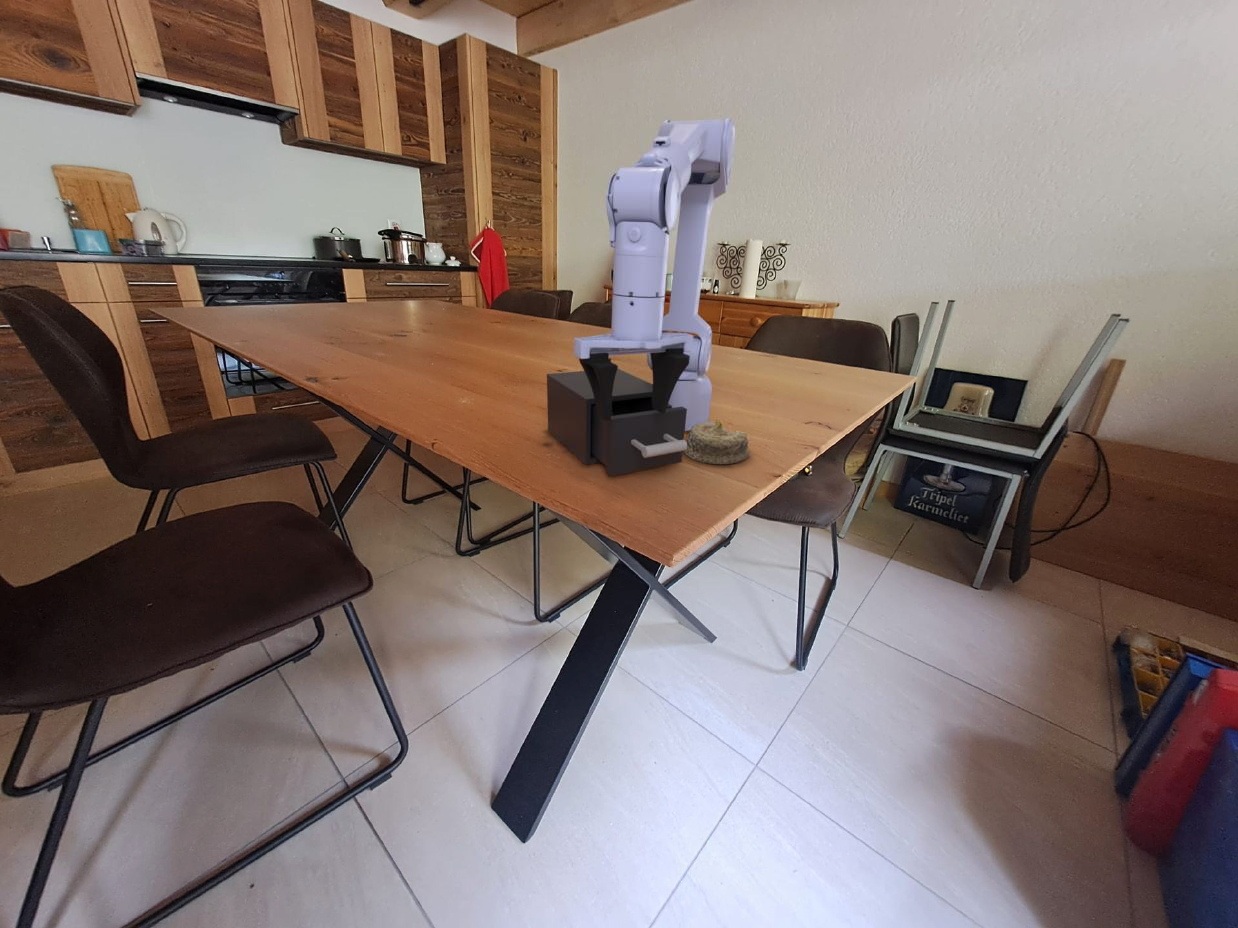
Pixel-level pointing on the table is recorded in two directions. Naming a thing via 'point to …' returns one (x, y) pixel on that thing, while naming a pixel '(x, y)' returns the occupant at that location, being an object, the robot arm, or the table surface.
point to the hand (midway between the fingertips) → (632, 414)
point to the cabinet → (583, 407)
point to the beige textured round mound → (716, 444)
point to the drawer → (638, 436)
